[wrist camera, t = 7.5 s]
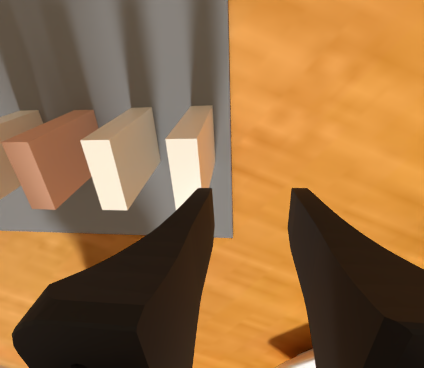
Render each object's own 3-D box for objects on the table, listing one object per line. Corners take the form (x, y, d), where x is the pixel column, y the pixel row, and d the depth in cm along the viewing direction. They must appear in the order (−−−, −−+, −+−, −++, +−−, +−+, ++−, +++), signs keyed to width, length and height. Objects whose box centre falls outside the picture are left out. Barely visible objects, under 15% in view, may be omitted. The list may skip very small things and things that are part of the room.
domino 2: (93, 109, 20) (27, 142, 14) (107, 162, 22) (55, 209, 16) (74, 110, 20) (0, 142, 14) (89, 161, 22) (31, 209, 16)
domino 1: (38, 110, 20) (-49, 141, 14) (57, 161, 23) (-11, 207, 17) (19, 110, 21) (-74, 142, 15) (40, 161, 23) (-33, 206, 17)
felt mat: (226, -77, 14) (226, -78, 14) (232, 236, 25) (232, 238, 25) (-165, -31, 17) (-169, -32, 17) (-9, 228, 28) (-10, 230, 28)
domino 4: (212, 105, 19) (197, 138, 13) (215, 161, 21) (203, 211, 15) (190, 105, 19) (165, 138, 13) (195, 160, 21) (175, 211, 15)
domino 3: (151, 107, 19) (109, 140, 13) (160, 161, 22) (127, 210, 15) (131, 107, 20) (80, 140, 14) (141, 161, 22) (102, 209, 16)
